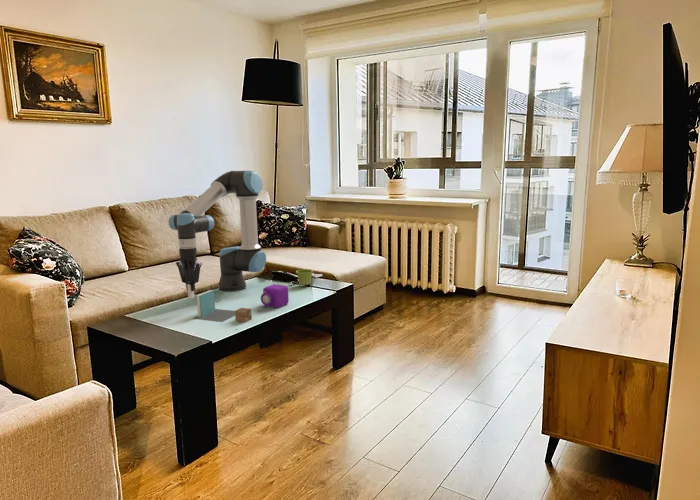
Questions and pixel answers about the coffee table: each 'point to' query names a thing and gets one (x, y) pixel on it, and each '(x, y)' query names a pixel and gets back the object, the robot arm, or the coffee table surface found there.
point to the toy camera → (275, 295)
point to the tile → (205, 303)
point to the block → (243, 315)
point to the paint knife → (313, 276)
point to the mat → (217, 315)
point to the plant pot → (304, 276)
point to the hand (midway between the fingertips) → (191, 297)
